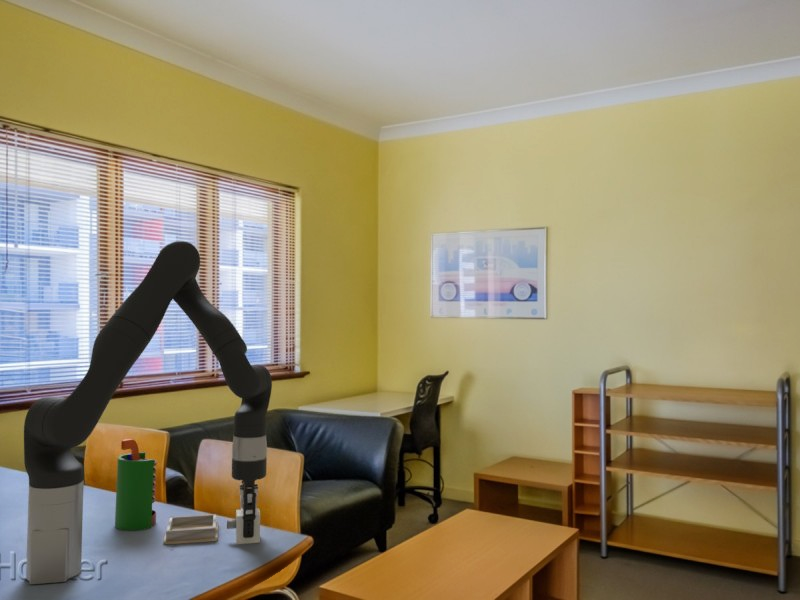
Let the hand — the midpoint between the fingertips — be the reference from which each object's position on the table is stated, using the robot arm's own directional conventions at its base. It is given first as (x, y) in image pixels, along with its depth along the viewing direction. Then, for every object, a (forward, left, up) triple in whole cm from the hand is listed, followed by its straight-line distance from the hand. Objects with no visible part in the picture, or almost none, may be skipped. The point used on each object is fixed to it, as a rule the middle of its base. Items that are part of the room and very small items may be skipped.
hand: (247, 532), depth 145 cm
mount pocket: (+6, +12, -1) cm, 13 cm away
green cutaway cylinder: (+16, +25, -2) cm, 30 cm away
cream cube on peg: (0, 0, -2) cm, 2 cm away
